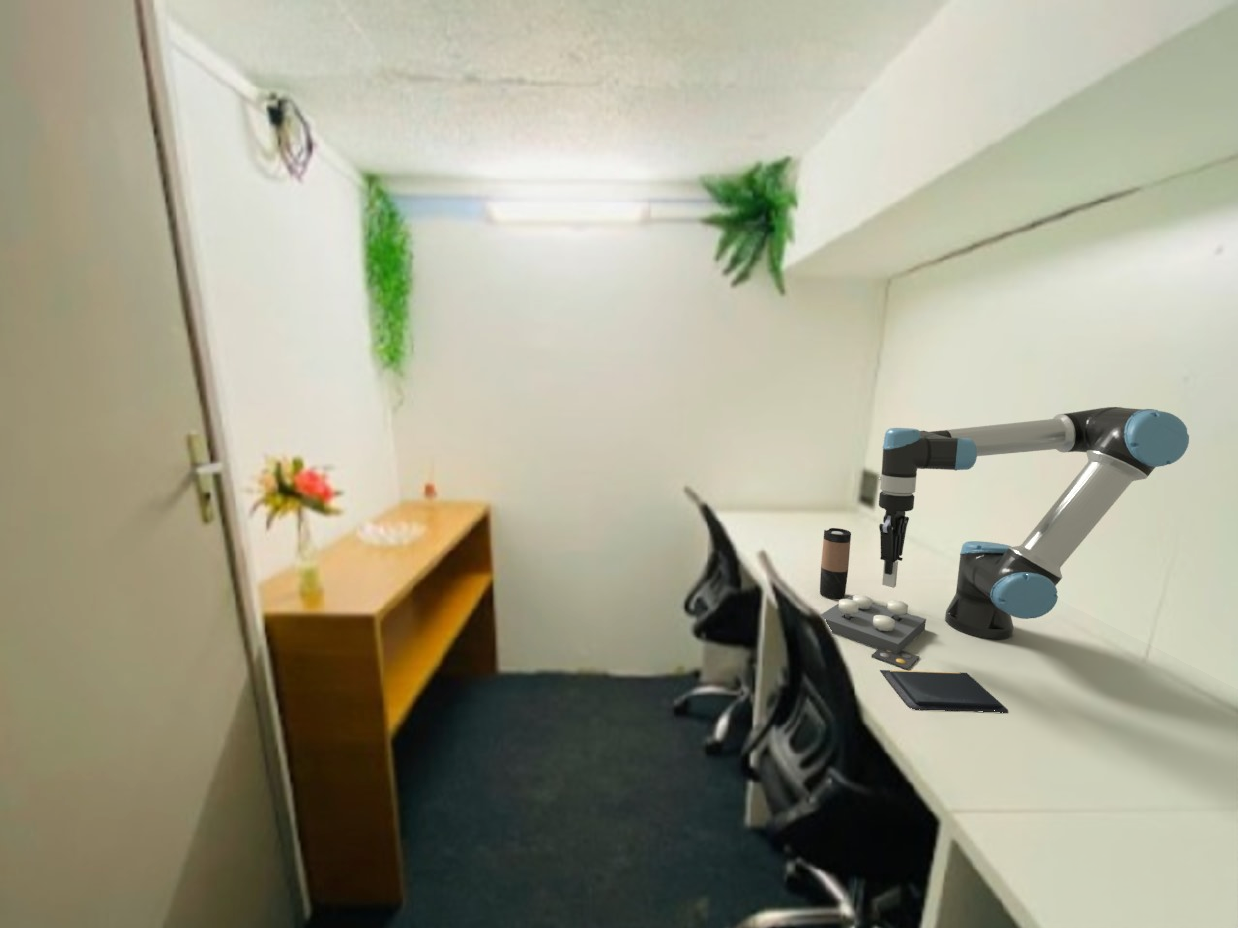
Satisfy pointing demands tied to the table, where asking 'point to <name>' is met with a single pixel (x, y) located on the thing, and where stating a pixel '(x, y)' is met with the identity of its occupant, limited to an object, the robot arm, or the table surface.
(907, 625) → the button board
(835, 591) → the travel mug
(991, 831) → the table surface
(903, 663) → the card
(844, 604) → the button
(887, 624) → the button
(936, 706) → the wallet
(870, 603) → the button
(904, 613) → the button
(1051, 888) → the table surface
